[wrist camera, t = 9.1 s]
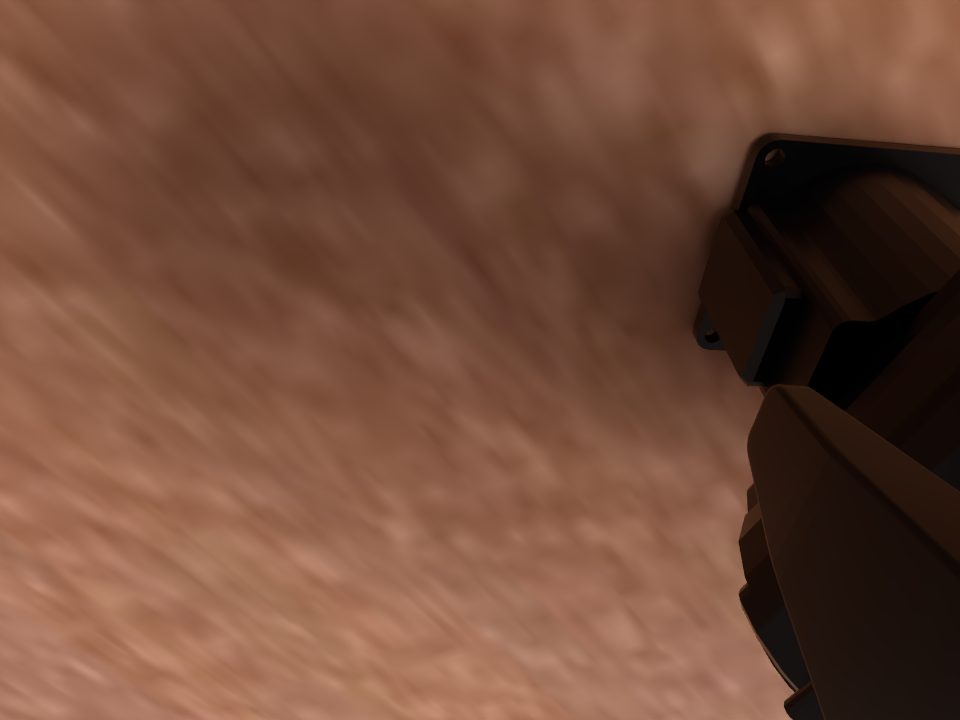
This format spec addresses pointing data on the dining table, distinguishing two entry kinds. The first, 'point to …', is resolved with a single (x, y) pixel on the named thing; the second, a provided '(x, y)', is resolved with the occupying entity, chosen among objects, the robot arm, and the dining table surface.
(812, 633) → the robot arm
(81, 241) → the dining table surface
